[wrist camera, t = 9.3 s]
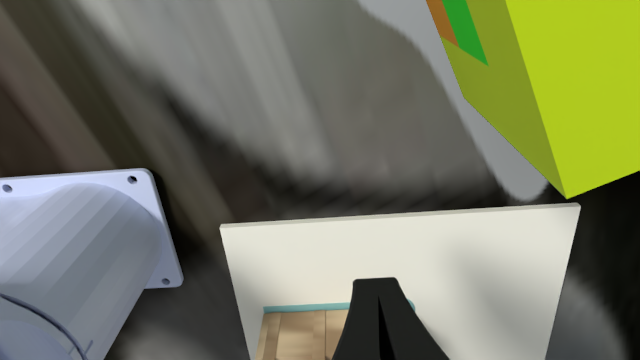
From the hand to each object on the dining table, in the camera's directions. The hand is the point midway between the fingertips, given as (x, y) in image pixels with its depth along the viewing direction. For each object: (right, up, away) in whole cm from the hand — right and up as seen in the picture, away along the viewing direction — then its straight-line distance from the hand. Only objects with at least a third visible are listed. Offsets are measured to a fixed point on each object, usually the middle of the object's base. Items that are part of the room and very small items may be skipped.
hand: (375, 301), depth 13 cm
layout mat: (+3, -6, +14) cm, 16 cm away
